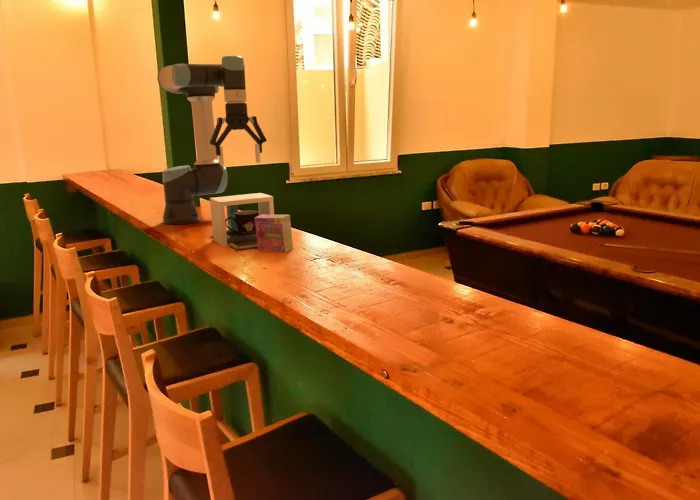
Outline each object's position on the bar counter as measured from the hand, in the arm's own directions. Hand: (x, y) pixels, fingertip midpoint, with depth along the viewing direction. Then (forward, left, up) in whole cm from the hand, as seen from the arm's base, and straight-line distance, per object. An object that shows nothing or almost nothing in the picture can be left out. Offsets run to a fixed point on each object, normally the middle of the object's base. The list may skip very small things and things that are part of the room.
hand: (240, 163), depth 201 cm
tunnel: (+5, -2, -27) cm, 27 cm away
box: (+25, +2, -28) cm, 37 cm away
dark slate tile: (+16, -2, -27) cm, 31 cm away
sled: (+1, -2, -27) cm, 27 cm away
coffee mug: (+5, -2, -27) cm, 28 cm away
